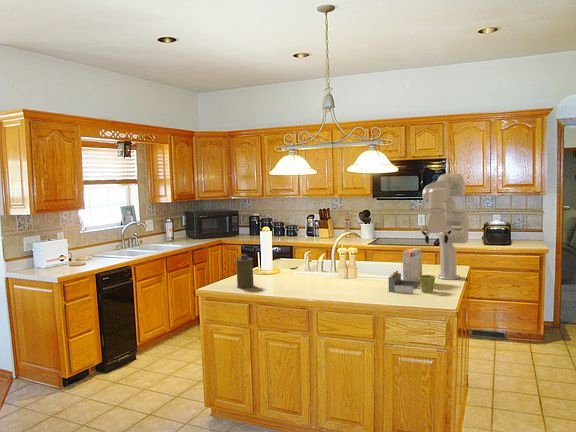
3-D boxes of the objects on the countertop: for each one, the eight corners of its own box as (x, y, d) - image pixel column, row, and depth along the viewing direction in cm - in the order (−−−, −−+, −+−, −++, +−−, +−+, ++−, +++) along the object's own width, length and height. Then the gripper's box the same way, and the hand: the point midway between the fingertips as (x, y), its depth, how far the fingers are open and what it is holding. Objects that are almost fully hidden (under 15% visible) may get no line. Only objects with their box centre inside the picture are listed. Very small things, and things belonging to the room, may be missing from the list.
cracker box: (413, 281, 291) (413, 247, 289) (422, 282, 287) (422, 248, 285) (402, 285, 281) (401, 250, 279) (411, 286, 277) (411, 251, 275)
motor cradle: (395, 286, 279) (395, 269, 279) (418, 287, 273) (418, 270, 272) (388, 291, 266) (388, 274, 265) (412, 293, 260) (412, 276, 259)
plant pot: (434, 294, 257) (433, 278, 256) (416, 293, 262) (416, 277, 261) (437, 290, 265) (437, 275, 264) (420, 289, 270) (420, 274, 269)
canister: (250, 288, 286) (249, 256, 285) (234, 288, 289) (233, 256, 287) (256, 284, 297) (254, 253, 295) (240, 284, 299) (239, 253, 298)
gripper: (450, 210, 256) (451, 242, 257) (418, 211, 258) (418, 242, 259) (454, 211, 249) (454, 243, 250) (421, 212, 250) (421, 244, 251)
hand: (436, 243), depth 254 cm, fingers open, 9 cm apart
